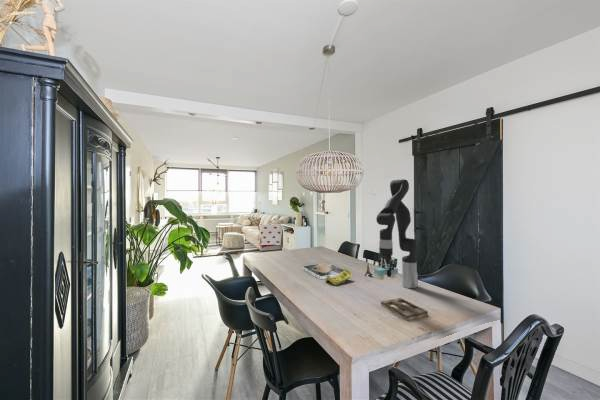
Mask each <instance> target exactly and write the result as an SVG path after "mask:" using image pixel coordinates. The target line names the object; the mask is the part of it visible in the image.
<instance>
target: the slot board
mask: <svg viewBox="0 0 600 400" xmlns="http://www.w3.org/2000/svg"><path fill="white" fill-rule="evenodd" d="M380 306H381V307H383V308H384V309H386V310H388V311H390V312H391V313H393V314H395V315H397V316H398V317H400V318H401V319H403V320H405V321H410V320H416V319H419V318H424V317H428V316H429V315H428V310H426V309H424V308H422V307H420V306H418V305H416V304H414V303H412V302H409V301H408V300H406V299H404V298H402V297H399V298H393V299H388V300H382V301H380Z"/></svg>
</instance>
